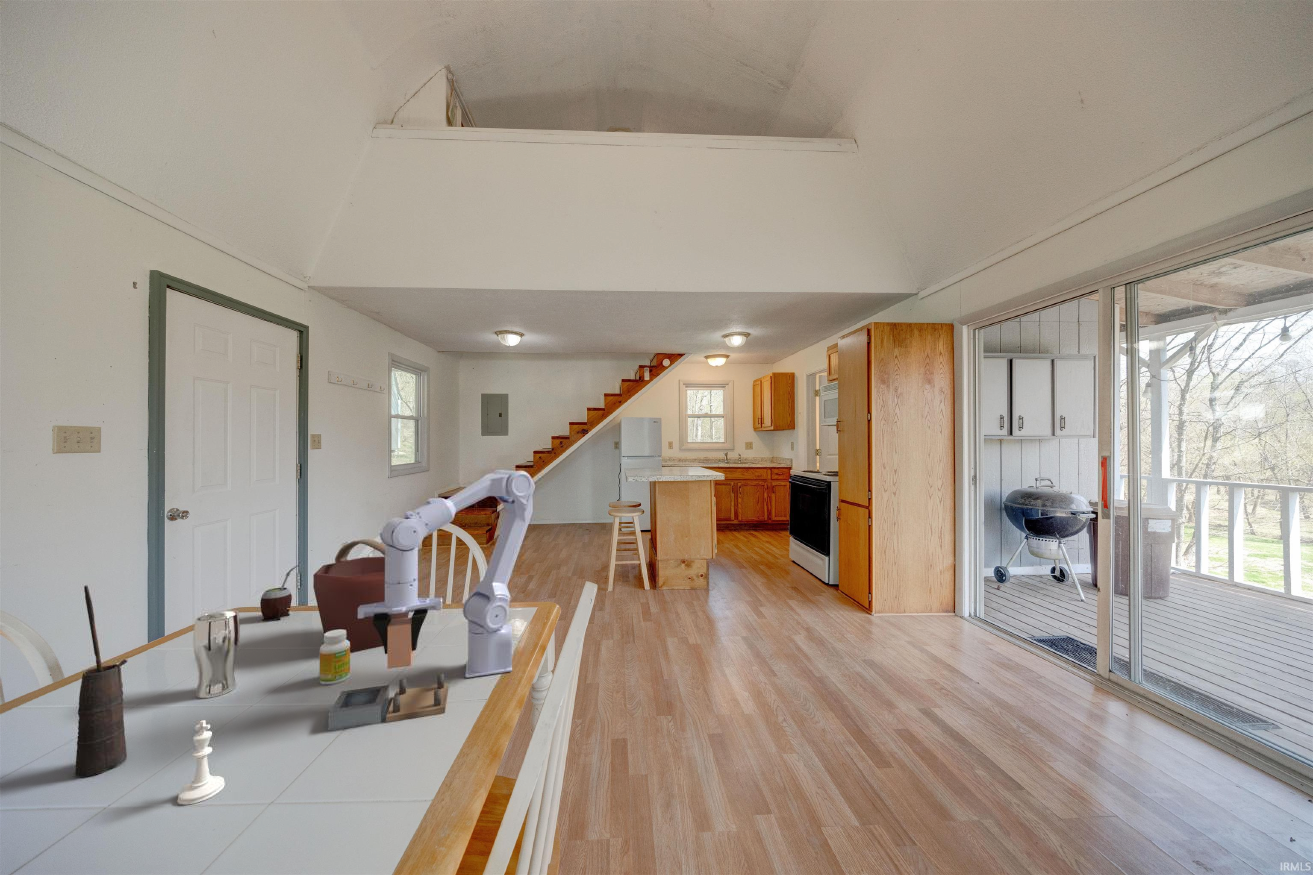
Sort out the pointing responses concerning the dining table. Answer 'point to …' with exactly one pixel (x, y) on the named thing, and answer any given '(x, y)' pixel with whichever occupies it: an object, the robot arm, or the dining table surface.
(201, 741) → the chess piece
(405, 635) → the pin
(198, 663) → the beer glass
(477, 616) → the robot arm
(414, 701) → the board
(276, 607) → the mate gourd
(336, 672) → the supplement bottle
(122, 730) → the butter churn
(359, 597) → the bucket
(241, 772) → the dining table surface
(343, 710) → the socket collar
